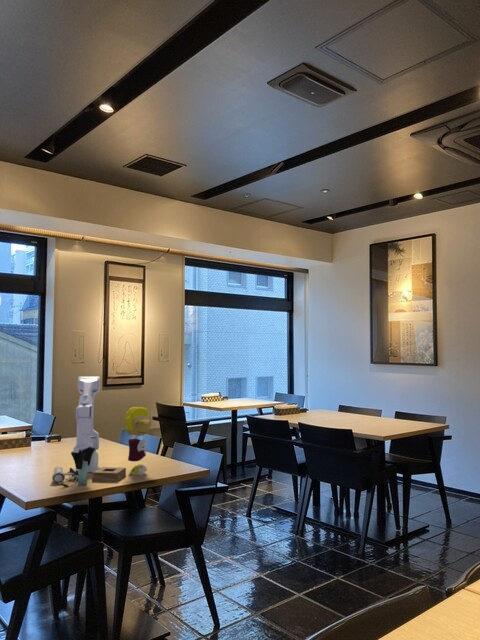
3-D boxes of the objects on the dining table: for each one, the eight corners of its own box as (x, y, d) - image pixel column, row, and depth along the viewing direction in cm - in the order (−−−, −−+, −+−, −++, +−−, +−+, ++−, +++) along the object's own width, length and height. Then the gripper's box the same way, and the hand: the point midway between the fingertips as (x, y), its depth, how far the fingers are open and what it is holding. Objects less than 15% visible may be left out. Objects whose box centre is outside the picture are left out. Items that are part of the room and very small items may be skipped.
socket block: (102, 474, 226) (102, 467, 226) (125, 475, 225) (125, 467, 225) (92, 480, 215) (92, 472, 216) (116, 481, 214) (116, 473, 214)
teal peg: (80, 482, 212) (80, 461, 212) (88, 483, 211) (89, 461, 212) (76, 485, 208) (77, 462, 209) (84, 485, 208) (85, 463, 208)
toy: (149, 476, 222) (150, 408, 225) (122, 477, 221) (123, 408, 223) (150, 466, 244) (151, 404, 247) (125, 467, 242) (127, 404, 245)
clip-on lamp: (81, 493, 207) (79, 474, 223) (83, 478, 206) (81, 460, 223) (51, 493, 202) (51, 474, 219) (53, 478, 202) (53, 460, 218)
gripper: (85, 436, 203) (84, 471, 202) (99, 431, 218) (99, 464, 217) (68, 436, 204) (67, 470, 203) (84, 431, 219) (83, 463, 218)
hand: (82, 467), depth 210 cm, fingers open, 7 cm apart
